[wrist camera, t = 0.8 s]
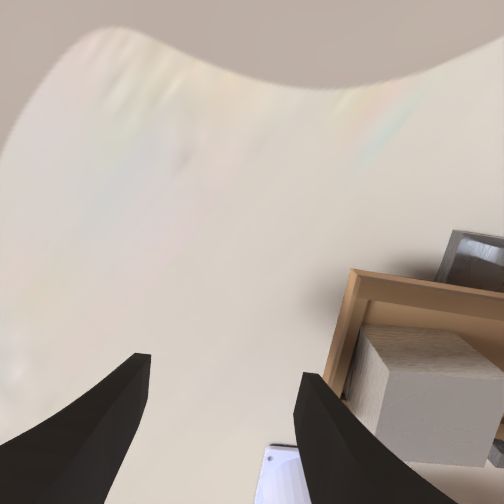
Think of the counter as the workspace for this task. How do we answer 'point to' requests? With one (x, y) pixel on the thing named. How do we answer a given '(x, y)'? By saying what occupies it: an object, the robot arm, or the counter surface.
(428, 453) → the block
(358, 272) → the wooden tray
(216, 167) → the counter surface
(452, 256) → the stand
